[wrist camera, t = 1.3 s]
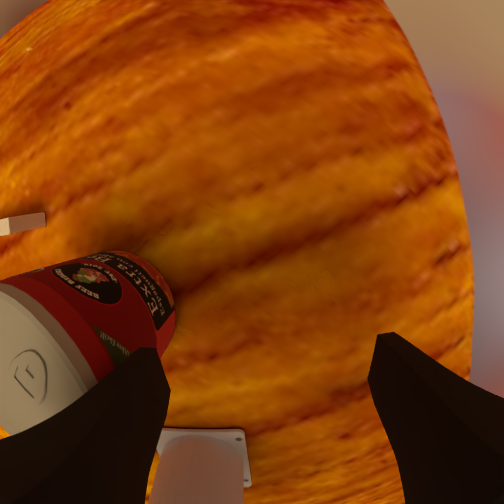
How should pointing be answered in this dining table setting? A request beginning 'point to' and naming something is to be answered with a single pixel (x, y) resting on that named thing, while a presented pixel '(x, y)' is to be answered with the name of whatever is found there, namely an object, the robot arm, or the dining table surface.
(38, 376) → the canned food
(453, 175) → the dining table surface
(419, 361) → the robot arm
